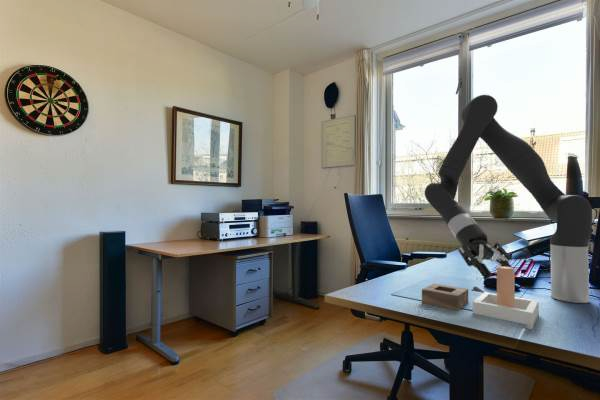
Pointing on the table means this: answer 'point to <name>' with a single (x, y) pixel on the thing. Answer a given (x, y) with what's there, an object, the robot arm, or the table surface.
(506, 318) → the tray
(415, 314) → the table surface
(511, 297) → the tan rectangular block
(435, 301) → the socket block
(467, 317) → the table surface
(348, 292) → the table surface
